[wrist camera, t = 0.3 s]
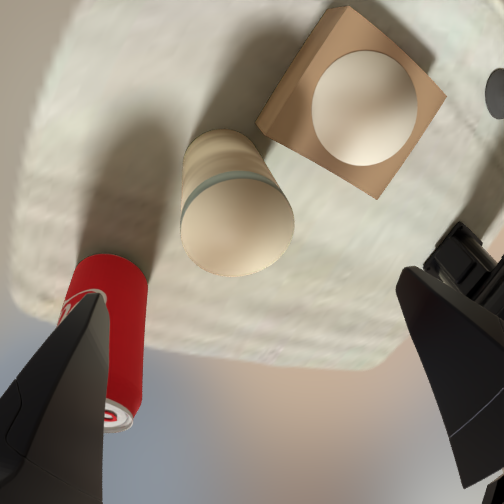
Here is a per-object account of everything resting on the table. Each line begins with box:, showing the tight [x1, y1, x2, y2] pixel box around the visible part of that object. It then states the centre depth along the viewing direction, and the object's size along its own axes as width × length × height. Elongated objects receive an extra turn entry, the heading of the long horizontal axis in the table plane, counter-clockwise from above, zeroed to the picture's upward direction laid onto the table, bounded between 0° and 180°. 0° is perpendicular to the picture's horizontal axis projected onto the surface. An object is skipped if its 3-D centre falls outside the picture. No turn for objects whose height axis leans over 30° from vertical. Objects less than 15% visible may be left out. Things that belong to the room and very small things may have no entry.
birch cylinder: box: [180, 129, 294, 277], centre depth 17 cm, size 5×5×8 cm
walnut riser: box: [255, 6, 447, 200], centre depth 18 cm, size 9×9×3 cm
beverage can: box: [56, 254, 148, 433], centre depth 19 cm, size 6×6×12 cm
